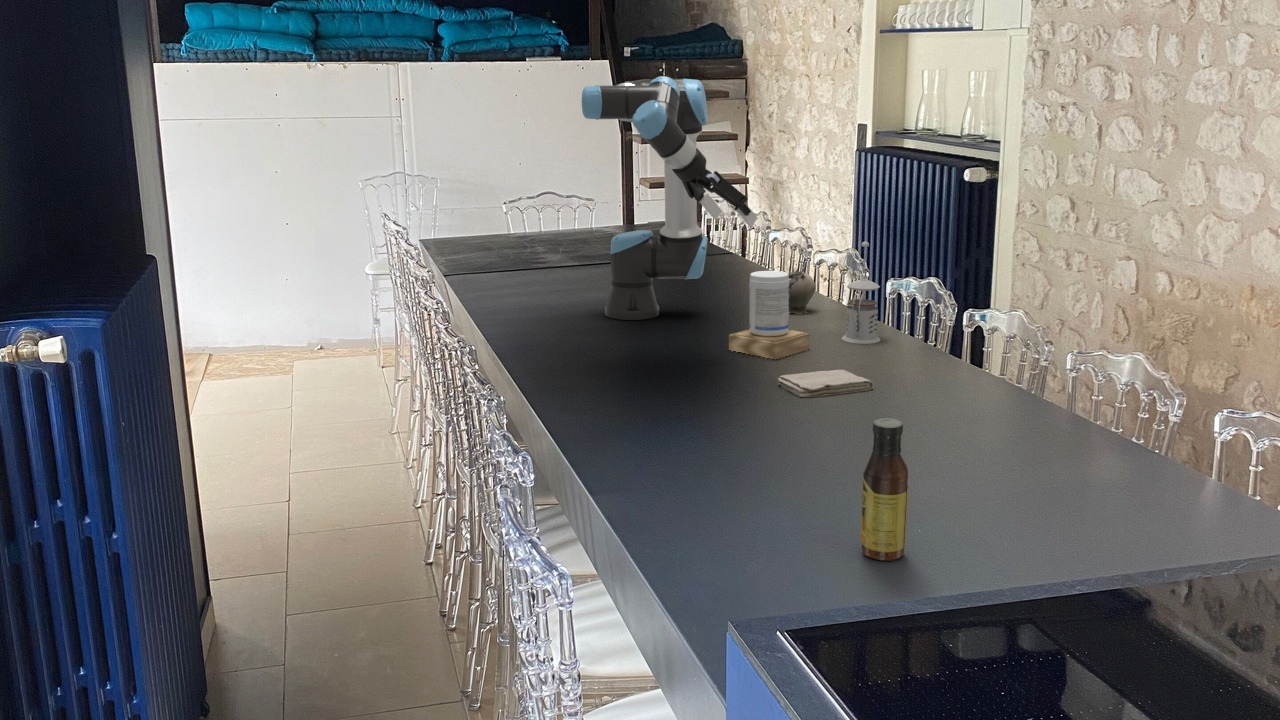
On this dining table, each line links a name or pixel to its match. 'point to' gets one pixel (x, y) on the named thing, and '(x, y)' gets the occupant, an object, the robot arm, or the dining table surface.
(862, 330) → the french press
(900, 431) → the sauce bottle
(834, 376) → the washcloth
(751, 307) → the supplement tub
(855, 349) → the dining table surface
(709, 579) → the dining table surface
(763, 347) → the riser
